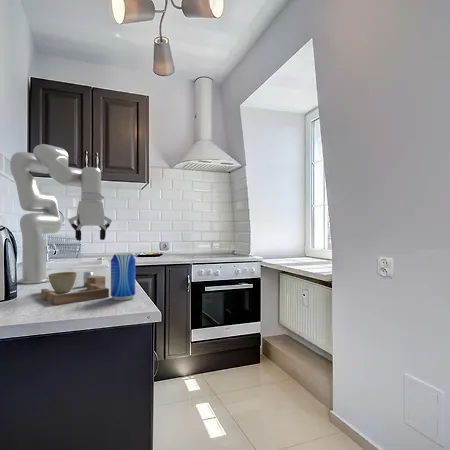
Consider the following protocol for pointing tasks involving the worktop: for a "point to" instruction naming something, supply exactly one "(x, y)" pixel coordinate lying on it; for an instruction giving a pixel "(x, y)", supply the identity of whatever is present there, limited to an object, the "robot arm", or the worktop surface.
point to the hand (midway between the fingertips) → (90, 240)
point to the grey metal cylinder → (87, 274)
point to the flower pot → (62, 281)
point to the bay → (75, 295)
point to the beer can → (123, 276)
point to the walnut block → (96, 280)
